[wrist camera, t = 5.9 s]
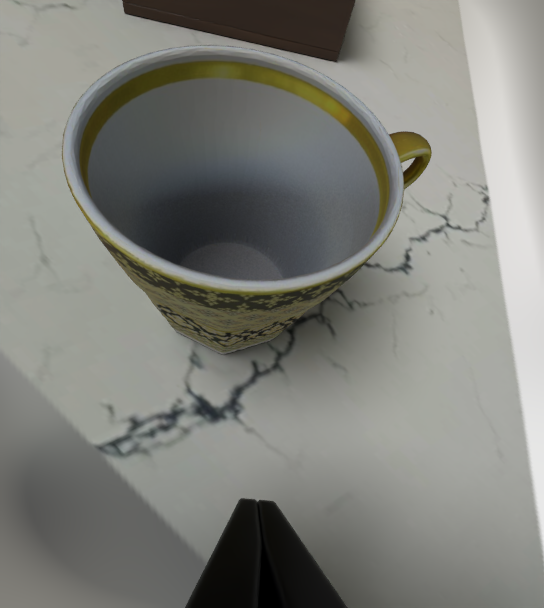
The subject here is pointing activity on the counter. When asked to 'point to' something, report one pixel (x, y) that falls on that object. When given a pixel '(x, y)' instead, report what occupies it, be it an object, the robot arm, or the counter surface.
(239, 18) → the crate
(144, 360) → the counter surface
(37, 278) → the counter surface
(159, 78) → the ceramic cup
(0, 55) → the counter surface
